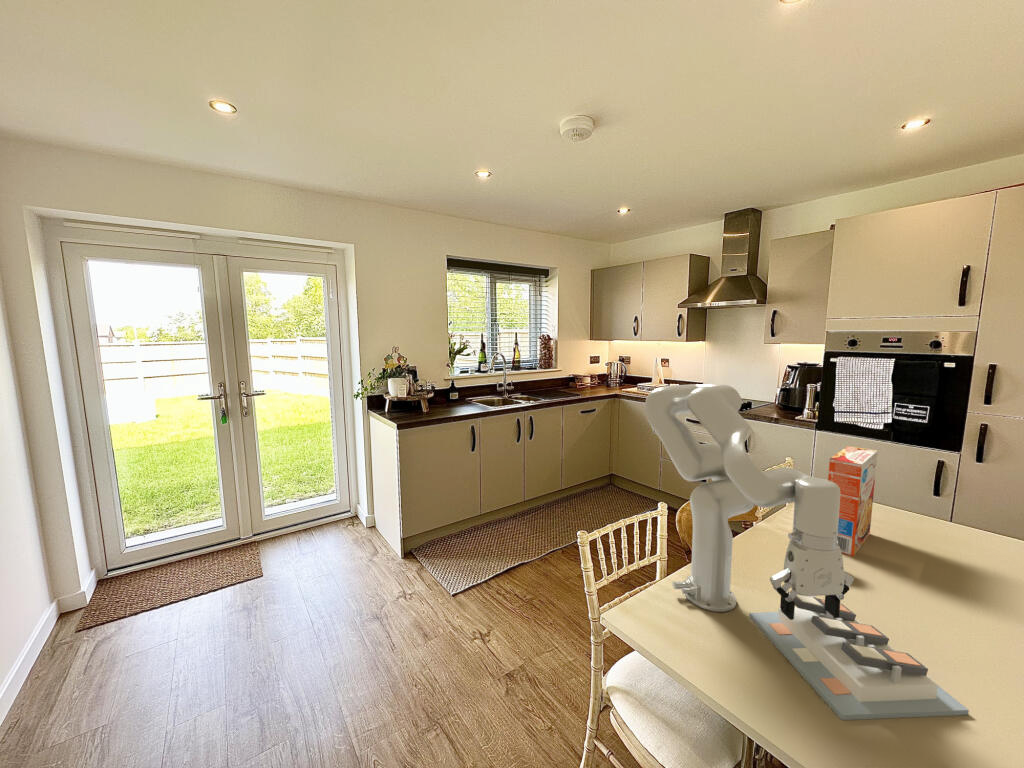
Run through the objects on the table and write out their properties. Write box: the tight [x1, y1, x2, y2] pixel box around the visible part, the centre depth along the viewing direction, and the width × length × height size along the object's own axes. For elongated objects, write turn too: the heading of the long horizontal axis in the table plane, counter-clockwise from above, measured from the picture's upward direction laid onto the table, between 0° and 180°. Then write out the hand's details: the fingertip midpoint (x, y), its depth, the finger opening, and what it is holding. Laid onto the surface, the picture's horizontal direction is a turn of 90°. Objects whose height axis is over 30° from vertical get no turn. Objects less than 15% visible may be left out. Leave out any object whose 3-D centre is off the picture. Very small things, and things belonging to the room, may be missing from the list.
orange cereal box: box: [827, 445, 878, 557], centre depth 139 cm, size 23×8×30 cm, turn 130°
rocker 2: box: [811, 616, 890, 645], centre depth 89 cm, size 14×4×2 cm, turn 92°
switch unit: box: [748, 596, 970, 721], centre depth 89 cm, size 24×28×7 cm
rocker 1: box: [787, 591, 857, 621], centre depth 97 cm, size 14×4×2 cm, turn 92°
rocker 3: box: [841, 642, 929, 676], centre depth 81 cm, size 14×4×2 cm, turn 92°
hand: (809, 614), depth 88 cm, fingers open, 9 cm apart
